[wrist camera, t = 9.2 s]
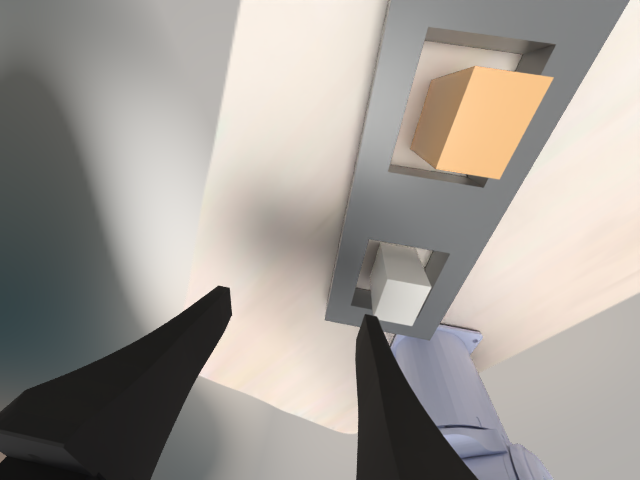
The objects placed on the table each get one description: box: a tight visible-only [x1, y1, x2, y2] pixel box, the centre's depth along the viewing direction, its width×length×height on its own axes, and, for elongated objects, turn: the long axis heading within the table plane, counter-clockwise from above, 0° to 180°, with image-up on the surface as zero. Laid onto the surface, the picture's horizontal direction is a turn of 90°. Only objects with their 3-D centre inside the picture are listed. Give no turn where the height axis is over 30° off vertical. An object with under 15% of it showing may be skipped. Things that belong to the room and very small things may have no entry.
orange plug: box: [410, 66, 554, 179], centre depth 13 cm, size 4×3×6 cm
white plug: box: [370, 243, 431, 326], centre depth 19 cm, size 4×3×5 cm
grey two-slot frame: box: [325, 0, 630, 341], centre depth 17 cm, size 24×10×2 cm, turn 173°
